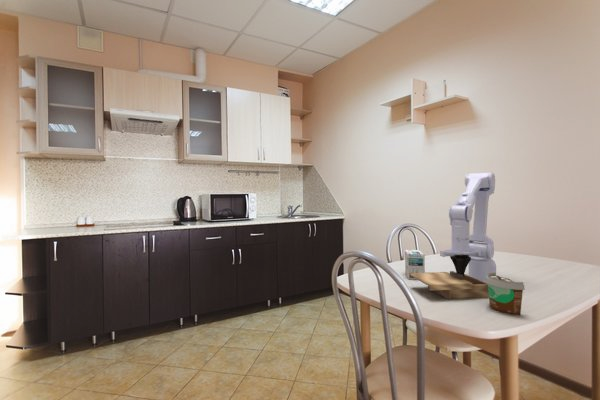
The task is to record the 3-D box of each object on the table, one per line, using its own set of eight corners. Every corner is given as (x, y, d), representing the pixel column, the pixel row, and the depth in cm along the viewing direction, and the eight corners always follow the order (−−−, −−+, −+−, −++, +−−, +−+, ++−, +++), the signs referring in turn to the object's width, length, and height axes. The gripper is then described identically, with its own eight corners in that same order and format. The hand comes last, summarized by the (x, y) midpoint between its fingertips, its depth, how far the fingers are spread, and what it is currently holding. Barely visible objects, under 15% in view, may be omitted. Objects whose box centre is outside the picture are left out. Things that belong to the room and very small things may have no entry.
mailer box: (464, 285, 119) (464, 274, 119) (490, 297, 105) (490, 284, 105) (427, 287, 118) (427, 275, 118) (449, 299, 104) (449, 286, 104)
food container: (476, 302, 101) (476, 272, 101) (494, 302, 101) (494, 271, 101) (504, 318, 88) (504, 283, 88) (524, 317, 89) (524, 282, 89)
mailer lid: (446, 276, 119) (446, 268, 119) (472, 288, 104) (472, 279, 104) (409, 277, 118) (409, 269, 118) (430, 290, 102) (430, 280, 102)
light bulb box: (425, 280, 127) (425, 254, 127) (408, 279, 128) (408, 253, 128) (420, 273, 137) (420, 249, 137) (404, 273, 139) (404, 249, 139)
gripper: (447, 240, 107) (447, 279, 107) (487, 239, 108) (486, 278, 108) (436, 237, 114) (436, 274, 114) (473, 236, 115) (473, 273, 115)
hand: (460, 275), depth 112 cm, fingers closed
